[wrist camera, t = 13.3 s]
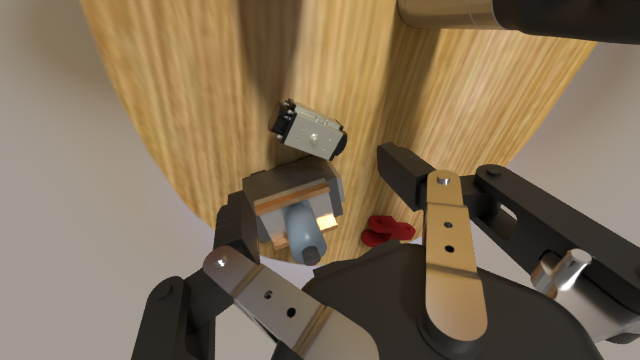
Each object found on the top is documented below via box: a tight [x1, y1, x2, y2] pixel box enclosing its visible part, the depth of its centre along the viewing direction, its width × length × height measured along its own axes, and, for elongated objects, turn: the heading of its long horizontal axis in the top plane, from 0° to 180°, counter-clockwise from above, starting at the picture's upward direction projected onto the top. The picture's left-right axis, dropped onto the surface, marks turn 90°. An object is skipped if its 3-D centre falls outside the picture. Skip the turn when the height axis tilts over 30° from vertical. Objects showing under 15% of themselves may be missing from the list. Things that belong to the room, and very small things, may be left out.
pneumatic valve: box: [268, 98, 347, 161], centre depth 37 cm, size 6×12×12 cm, turn 62°
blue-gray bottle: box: [283, 203, 327, 266], centre depth 36 cm, size 5×5×10 cm
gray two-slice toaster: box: [242, 154, 345, 251], centre depth 44 cm, size 17×10×13 cm, turn 102°
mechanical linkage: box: [361, 216, 416, 247], centre depth 65 cm, size 16×7×5 cm, turn 75°
